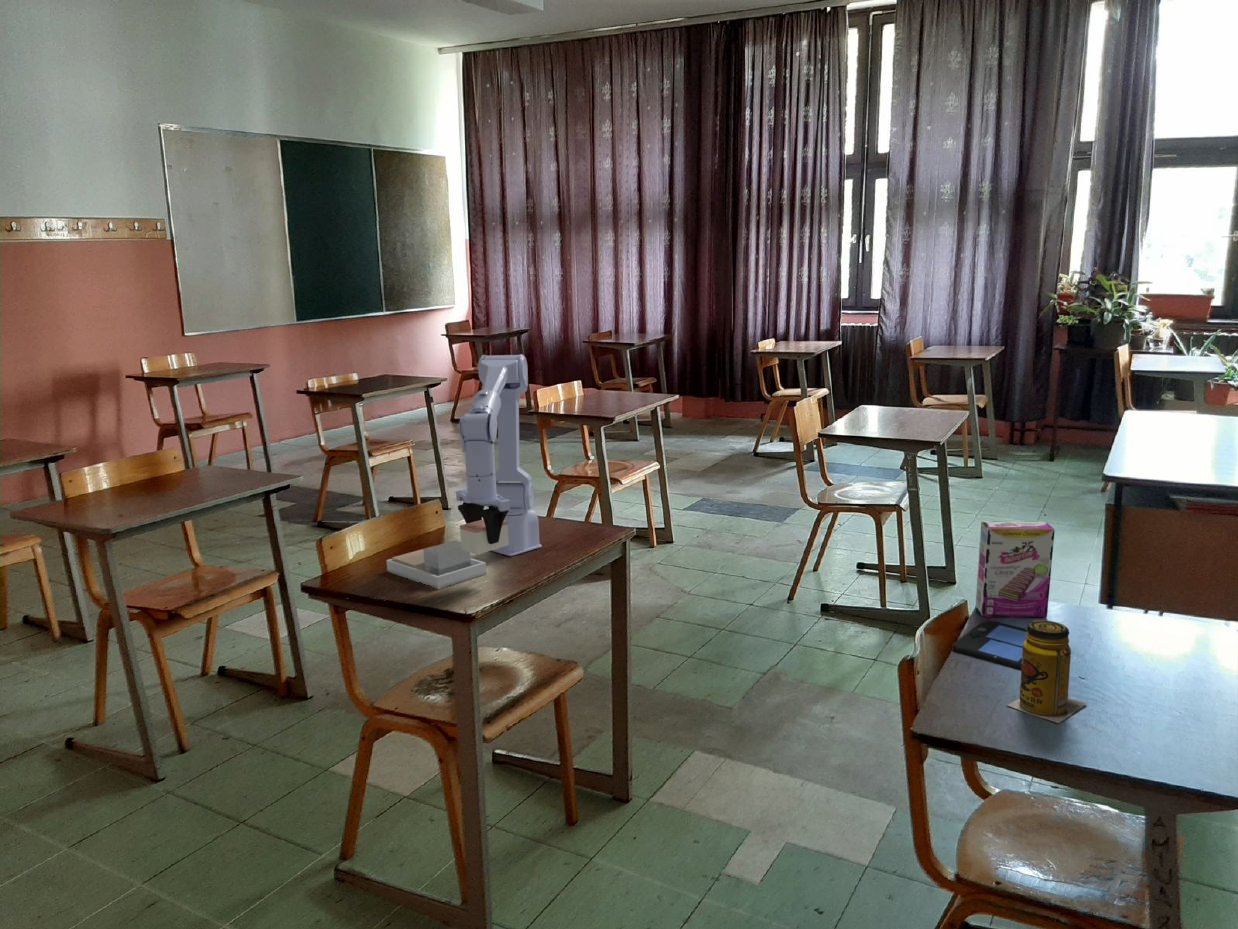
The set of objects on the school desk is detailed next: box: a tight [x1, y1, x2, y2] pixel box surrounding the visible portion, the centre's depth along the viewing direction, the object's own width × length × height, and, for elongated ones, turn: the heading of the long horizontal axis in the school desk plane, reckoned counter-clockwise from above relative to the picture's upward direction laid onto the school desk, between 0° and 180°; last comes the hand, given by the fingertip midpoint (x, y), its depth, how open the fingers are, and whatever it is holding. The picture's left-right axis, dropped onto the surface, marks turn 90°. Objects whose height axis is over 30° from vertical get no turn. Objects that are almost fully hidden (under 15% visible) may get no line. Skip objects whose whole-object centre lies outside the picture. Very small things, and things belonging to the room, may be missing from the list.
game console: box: [951, 620, 1027, 671], centre depth 147 cm, size 14×13×2 cm
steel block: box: [422, 540, 471, 576], centre depth 191 cm, size 8×5×6 cm, turn 137°
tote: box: [385, 545, 487, 590], centre depth 194 cm, size 12×18×3 cm
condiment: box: [1006, 620, 1088, 724], centre depth 127 cm, size 7×8×12 cm
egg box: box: [459, 519, 509, 555], centre depth 184 cm, size 8×5×5 cm, turn 137°
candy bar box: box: [975, 520, 1056, 618], centre depth 161 cm, size 11×5×16 cm, turn 84°
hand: (484, 540), depth 184 cm, fingers closed on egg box, 5 cm apart
